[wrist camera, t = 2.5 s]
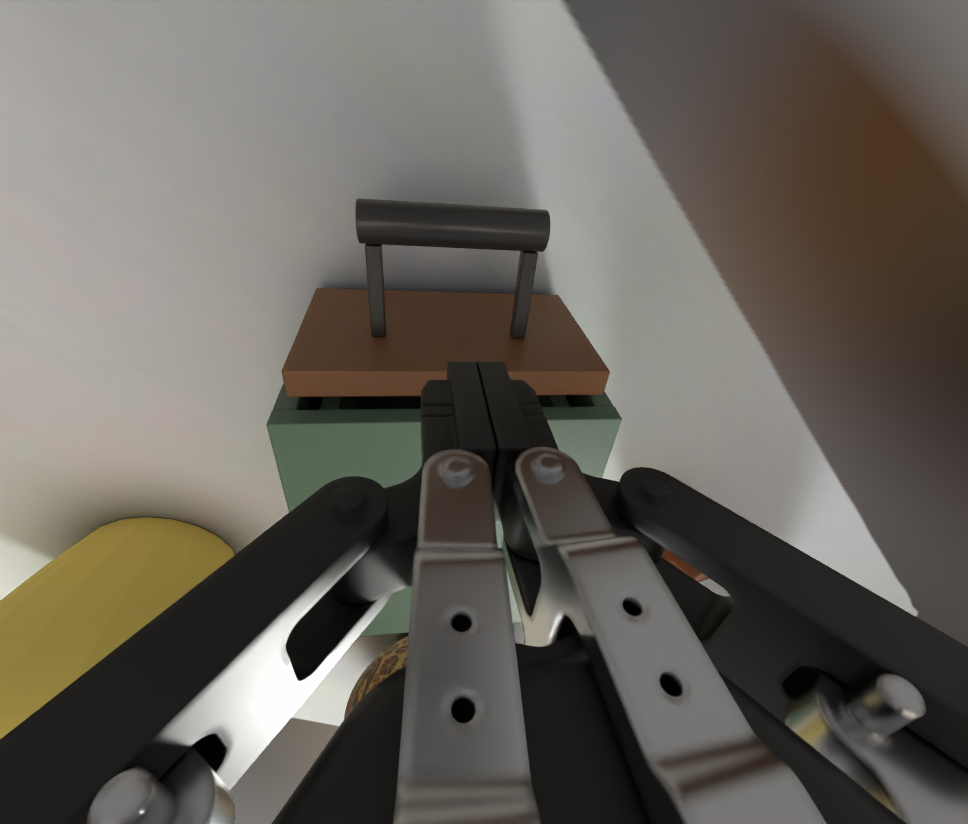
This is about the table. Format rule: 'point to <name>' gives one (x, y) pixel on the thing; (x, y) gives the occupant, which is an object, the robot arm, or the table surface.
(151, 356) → the table surface
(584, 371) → the drawer
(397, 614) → the cabinet
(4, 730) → the vase
